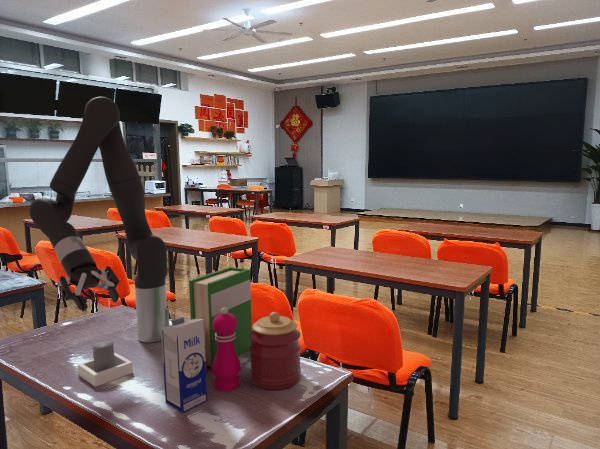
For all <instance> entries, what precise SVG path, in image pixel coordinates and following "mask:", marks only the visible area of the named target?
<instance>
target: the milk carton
mask: <svg viewBox="0 0 600 449" xmlns="http://www.w3.org/2000/svg"><path fill="white" fill-rule="evenodd" d="M203 320H204V319H193V320H191V319H188V320H186V319H184V317H179V318H175V319H171V321H170V322H171V325H169V326H168V327H165V328H161V331H162V340H161V345H162V346H161V347H162V349H161V350H162V362H163V363H162V364H163V378H164V380H163V381H164V382H163V383H164V397H165V399H164V400H165V401H164V402H165V404H166V405H168V406H170V407H171V408H174V409H175V410H176V411H179V412H180V413H182V414H184V413H185V412H188V411H189V410H191V409H193V408H195V407H197V406H199V405H201V404H203V403H205V402H208V398H207V396H208V395H207V394H208V393H207V371H206V368H205V346H204V323H203Z"/></svg>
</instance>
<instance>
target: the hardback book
mask: <svg viewBox="0 0 600 449" xmlns="http://www.w3.org/2000/svg"><path fill="white" fill-rule="evenodd" d="M251 286H252V285H251V269H250V268H249V269H248V268H241V267H234V266H233V267H232V266H229V267H226V268H222V269H220V270H217V271H214V272H210V273H207V274H204V275H201V276H198V277H196V278H195V277H194V278H192V279H189V280H188V288H189V309H190V320H193V319H204V320H203V323H204V330H205V346H206V365H207V367H210V371H211V372H212V364H213V361H214V359H215V356H216V354H217V341H216V340H215V333H216V332H215V331H214V330H213V320H214V318H215V317H216V316H217V315H219V314H221V309H222V308H227V309H228V313H230V314H232V315H234V316H235V318H236V320H237V328H236V329H235V331H234V332H235V333H236V334H235V336H236V338H235V339H234V348H235V351H236V354H237V356H238V357H239V356H241V355H243V354H245V353H246V352H247V351H250V346H251V340H250V338H249V334H250V333H251V332H252V331H253V329H252V326H253V323H252V321H253V317H252V288H251Z"/></svg>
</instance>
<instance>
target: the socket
mask: <svg viewBox="0 0 600 449" xmlns="http://www.w3.org/2000/svg"><path fill="white" fill-rule="evenodd" d="M114 359H115V367H112V368H109V369H106V370H104V371H101V372H98V373H96V372H95V369H94V358H93V359H90V360H85V361H84V362H80V363H77V373H78V376H79V377H80V378H82V379H83V380H85V381H86V382H88V383H89V384H90V385H92V386H93V387H95V388H96V387H99V386H101V385H104V384H106V383H110V382H112V381H115V380H119V379H120V378H123V377H126V376H129V375H131V374H133V372H134V370H133V367H134V366H133V361H131V360H129V359H127V358H126V357H124V356H122V355H120V354H118V353H116V352H115V351H114Z"/></svg>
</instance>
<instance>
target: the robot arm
mask: <svg viewBox="0 0 600 449" xmlns="http://www.w3.org/2000/svg"><path fill="white" fill-rule="evenodd" d="M83 114H84V115H83V117H82V120H81V124H80V126H79V129H78V131H77V134H76V136H75V138H74V140H73V141H72V144H71V146H70V147H69V149H68V150H67V152H66V154H65V155H64V157H63V158H62V160H61V162H60V164H59V165H58V167H57V169H56V171H55V172H54V175H53V176H52V178H51V181H50V183H49V188H50V190H51V191H53V192H54V193H56V195H55V196H56V197H55V200H54V199H51V198H46V197H38V198H36V199H33V201H32V202H31V204H29V208H28V209H29V210H28V211H29V212H28V213H29V216H30V218H31V221H32V223H34V224H35V226H36V227H37V228H38V229H39V231H41V232H42V234H44V235H45V236H46V237H47V238H48V239H49V242H50V244H51V245H52V248H53V250H54V252H55V253H56V258H57V259H58V261H59V263H60V265H61V266H62V268H63V270H64V272H65V274H66V277H65V276H63V275H62V276H60V277H59V279H58V281H57V286H58V288H59V290H60V292H61V294H62V298H63V299H64V300H65V301H67V302H68V301H69V300H71V301H74V304H75V305H76V307H77V308H78V310H80V311H82V312H86V311H87V310H88V309H89V308H88V304H87V302H86V300H85V298H84V296H82V290H84V291H86V290H88V289H94V288H98V289H102V290H104V291H107V293H108V295H109V297H110V299H111V300H112V303H114V304H115V303H118V302H119V299H120V294H119V292H118V290H117V287H118V285H119V283H120V280H119V278H118V277H117V275H116V274H115V272H114V271H113V269H112V268H111V266H108V265H107V266H106V267H105V268H102V269H100V268H98V266H97V263H96V261H95V259H94V257H93V256H92V254H91V252H90V251H89V248H88V247H87V245H86V244H85V242H84V241H83V239H82V238H81V237H80V235H79V232H78V231H77V230H76V228H75V227H74V225H72V224H71V223H70V222H69V220H70V218H71V216H72V213H73V209H74V205H75V200H76V195H77V191H78V190H79V188H80V186H81V184H82V182H83V180H84V179H85V176H86V174H87V173H88V170H89V168H90V165H91V164H92V161H93V159H94V157H95V155H96V153H97V151H98V149H99V152H100V157H101V162H102V167H103V170H104V175H105V180H106V182H107V184H108V189H109V190H110V193H111V196H112V198H113V199H112V200H113V202H114V203H115V204H114V205H115V206H116V209H117V212H118V215H119V217H120V219H121V222H122V224H123V228H124V233H125V237H126V238H125V239H126V242H127V246H128V251H129V253H130V255H131V258H133V259H134V260H135V261H137V265H136V266H137V274H136V276H135V277H134V294H135V295H134V297H135V310H136V324H137V326H136V327H137V339H138V341H139V342H142V343H157V342H162V331H161V328H165V327H168V326H170V315H169V314H170V312H169V308H168V304H167V288H166V287H167V286H166V279H167V276H168V251H167V247H166V246H167V245H166V243H165V241H164V240H163V239H162V238H161V237H159V236H156V235H154V234H153V233H152V230H151V228H150V224H149V223H148V219H147V216H146V198H145V190H144V185H143V183H142V180H141V177H140V173H139V171H138V169H137V166H136V163H135V161H134V160H133V158H132V155H131V154H130V151H129V149H128V147H127V145H126V142H125V140H124V135H123V132H122V128H121V123H120V116H121V112H120V109H119V107H118V105H117V104H116V102H115V101H114V100H113V99H111V98H109V97H107V96H97V97H92V98H91V99H90V100H89V101H87V103H85V107H84V112H83ZM69 284H71V285H73V286H75V289H74V292H72V290H71V287H70V286H69Z"/></svg>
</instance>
